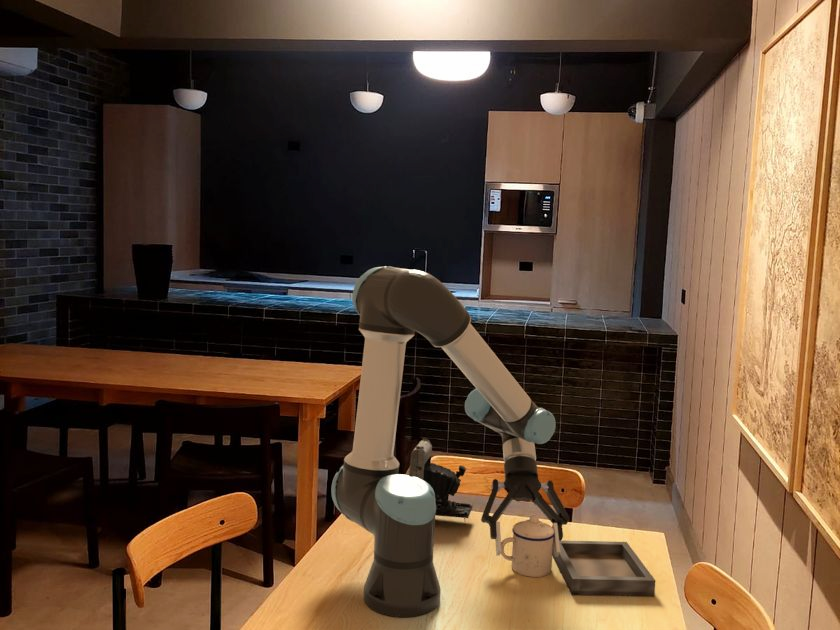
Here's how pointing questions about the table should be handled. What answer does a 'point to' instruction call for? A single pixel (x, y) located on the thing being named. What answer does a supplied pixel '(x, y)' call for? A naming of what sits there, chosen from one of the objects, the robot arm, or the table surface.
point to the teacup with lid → (531, 547)
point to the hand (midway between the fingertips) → (528, 554)
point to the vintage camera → (438, 481)
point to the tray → (603, 569)
